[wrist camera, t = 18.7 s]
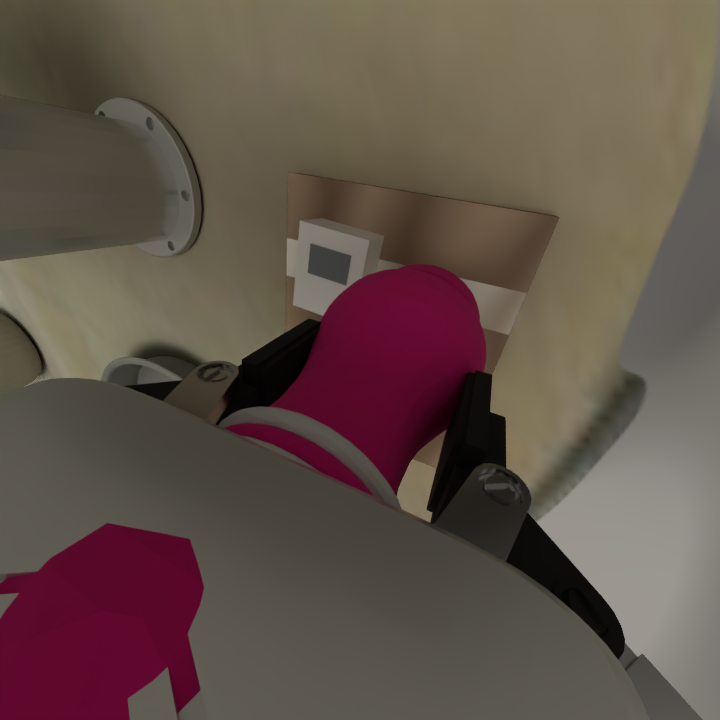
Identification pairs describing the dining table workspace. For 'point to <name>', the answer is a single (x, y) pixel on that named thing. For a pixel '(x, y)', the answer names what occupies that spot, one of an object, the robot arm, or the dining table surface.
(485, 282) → the brown flat board
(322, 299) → the block
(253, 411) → the pepper mill
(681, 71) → the dining table surface
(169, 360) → the cake pan
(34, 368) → the canister
